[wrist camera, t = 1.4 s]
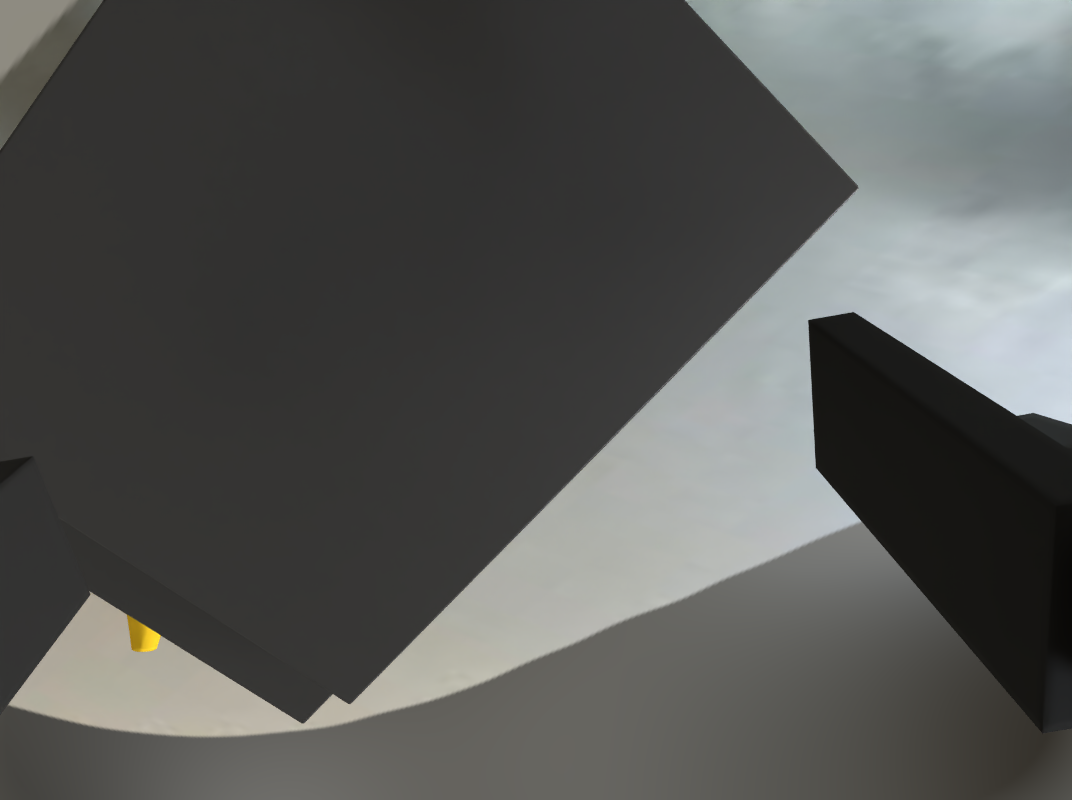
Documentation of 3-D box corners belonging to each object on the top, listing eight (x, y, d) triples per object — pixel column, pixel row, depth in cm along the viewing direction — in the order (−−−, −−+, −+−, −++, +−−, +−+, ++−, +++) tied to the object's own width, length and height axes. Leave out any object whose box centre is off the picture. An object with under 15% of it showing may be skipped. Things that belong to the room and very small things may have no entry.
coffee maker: (432, -82, 42) (349, -360, 15) (638, 122, 46) (861, 188, 19) (170, 258, 47) (-245, 503, 20) (375, 416, 50) (259, 797, 24)
